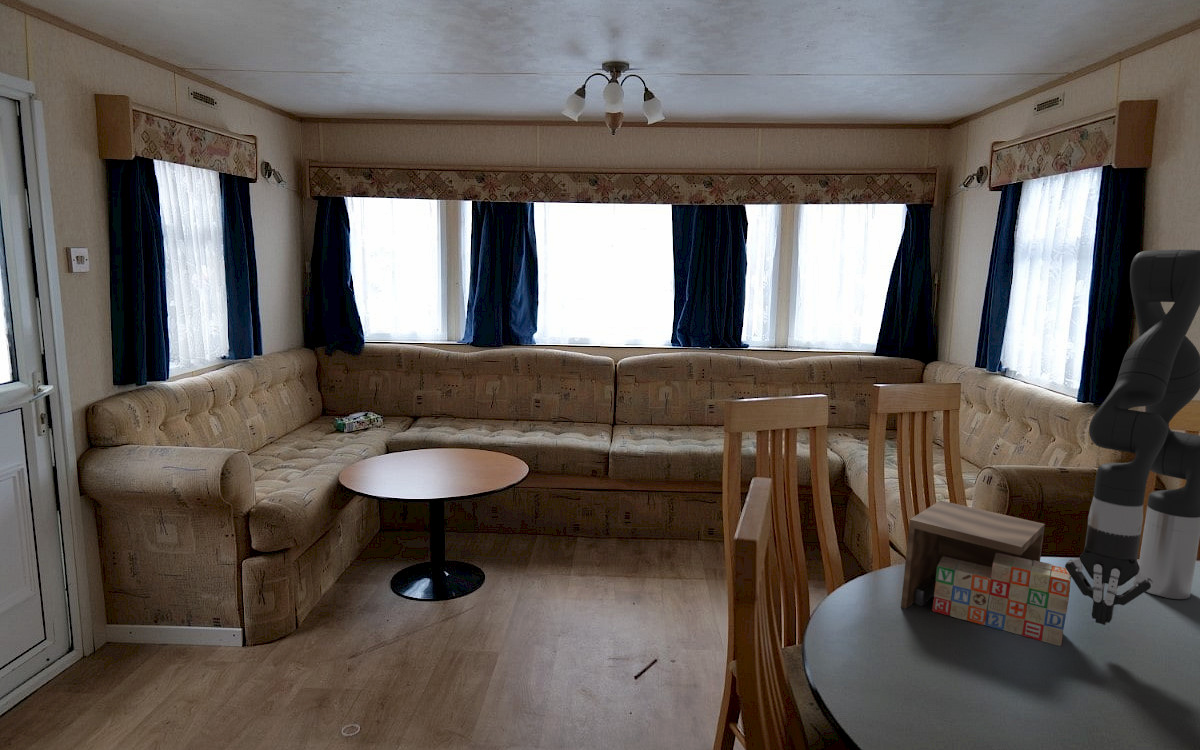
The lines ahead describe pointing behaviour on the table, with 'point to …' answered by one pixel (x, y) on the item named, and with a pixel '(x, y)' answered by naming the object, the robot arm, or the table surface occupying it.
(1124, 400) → the robot arm
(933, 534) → the overhang shelf
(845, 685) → the table surface
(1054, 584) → the stack of blocks
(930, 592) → the registration seat
